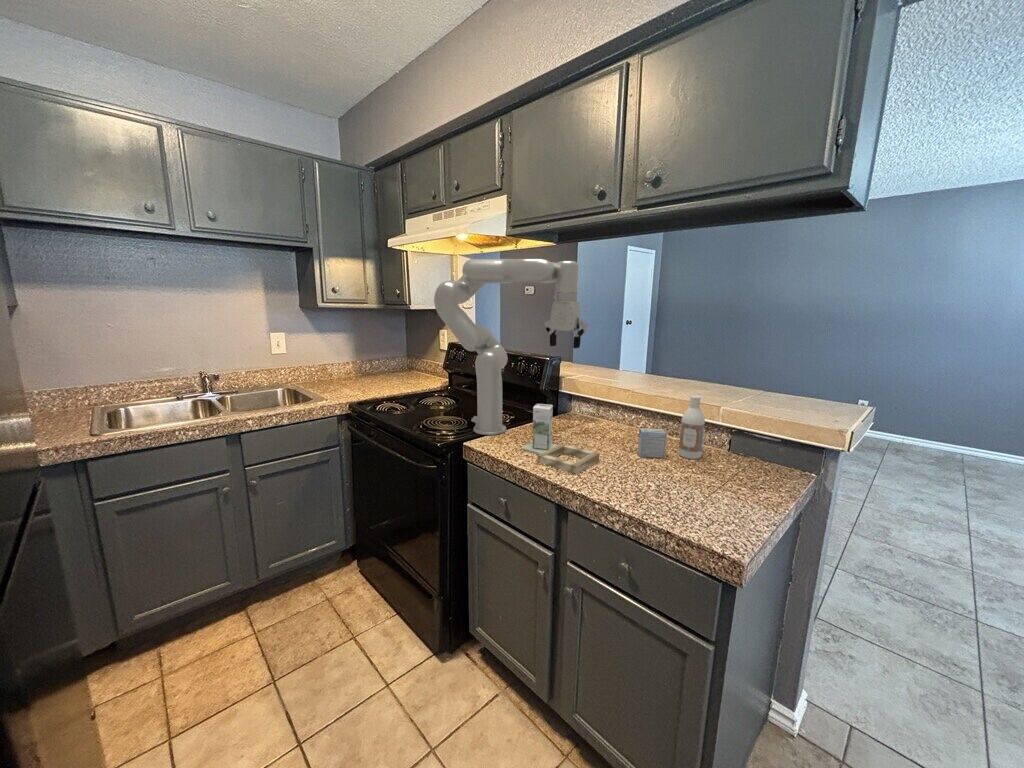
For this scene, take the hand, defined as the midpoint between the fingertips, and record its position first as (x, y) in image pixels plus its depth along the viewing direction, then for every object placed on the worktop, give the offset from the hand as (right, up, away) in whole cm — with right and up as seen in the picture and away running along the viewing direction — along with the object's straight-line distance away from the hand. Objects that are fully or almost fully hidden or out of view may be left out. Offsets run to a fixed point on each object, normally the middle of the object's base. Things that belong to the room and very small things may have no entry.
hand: (564, 346), depth 149 cm
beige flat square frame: (-1, -38, -18) cm, 42 cm away
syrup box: (-8, -35, -7) cm, 36 cm away
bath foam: (+40, -37, -12) cm, 55 cm away
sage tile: (-9, -35, -7) cm, 37 cm away
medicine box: (+27, -37, -12) cm, 47 cm away
